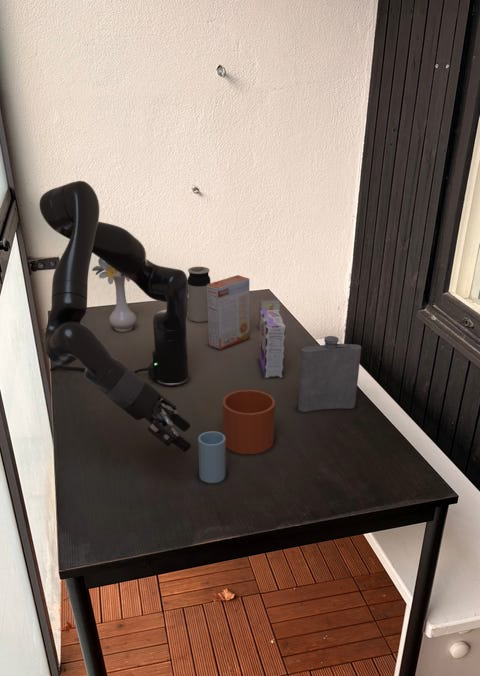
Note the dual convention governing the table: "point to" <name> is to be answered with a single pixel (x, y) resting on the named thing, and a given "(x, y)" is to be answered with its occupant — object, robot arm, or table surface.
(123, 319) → the flower vase
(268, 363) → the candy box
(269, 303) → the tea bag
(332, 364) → the hip flask
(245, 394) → the flower pot
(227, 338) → the cracker box
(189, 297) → the travel mug
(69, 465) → the table surface
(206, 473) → the enamel cup
